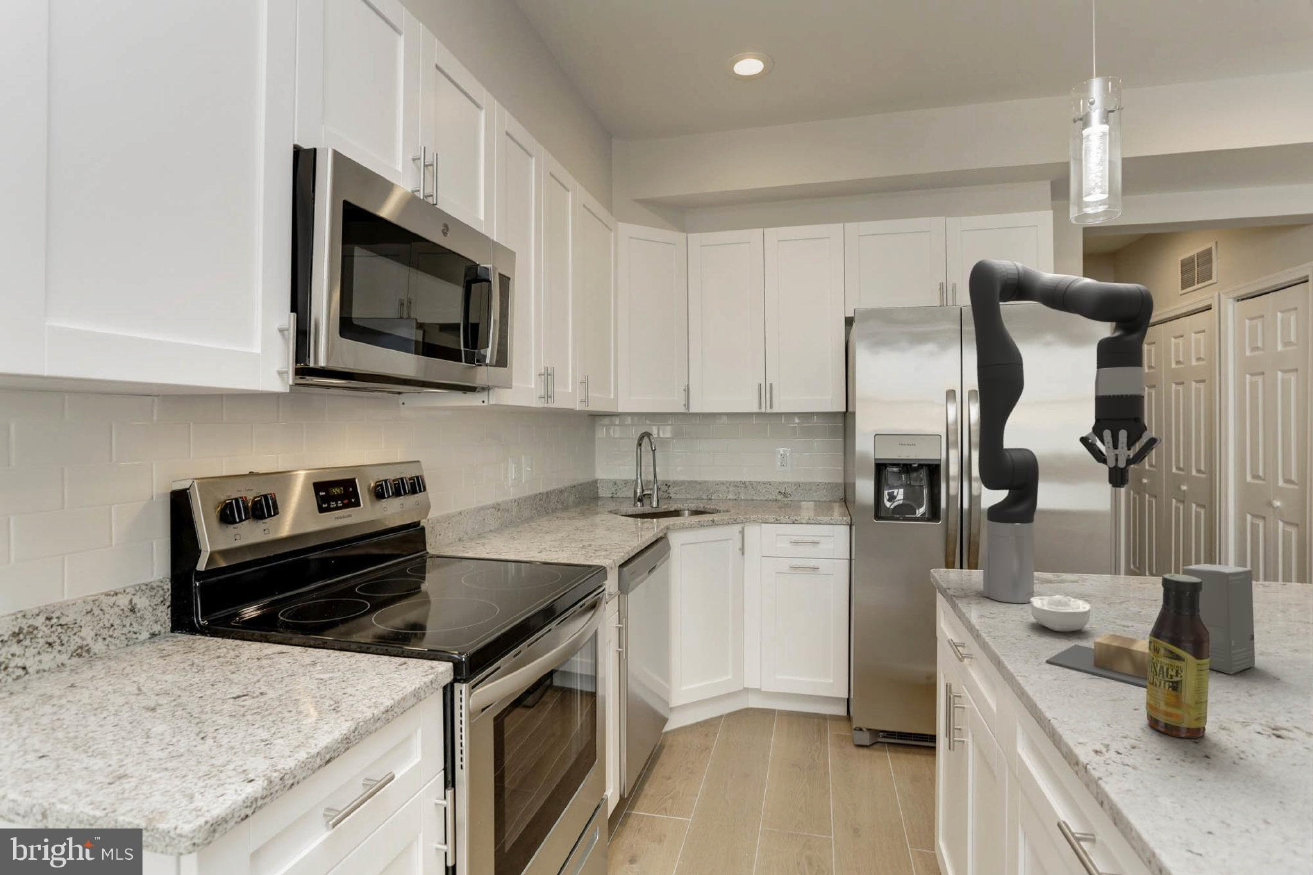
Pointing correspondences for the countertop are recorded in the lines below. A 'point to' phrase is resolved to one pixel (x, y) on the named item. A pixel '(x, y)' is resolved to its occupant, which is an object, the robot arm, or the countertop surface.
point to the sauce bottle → (1178, 661)
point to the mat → (1091, 665)
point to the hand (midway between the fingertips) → (1118, 487)
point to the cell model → (1060, 612)
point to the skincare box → (1227, 614)
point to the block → (1122, 654)
